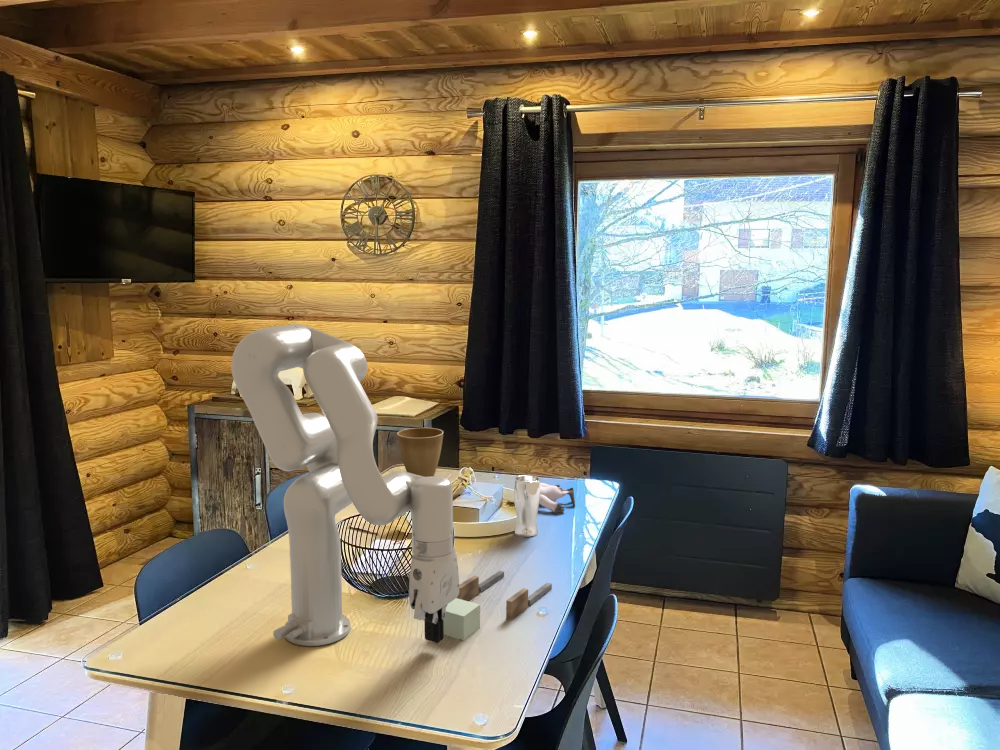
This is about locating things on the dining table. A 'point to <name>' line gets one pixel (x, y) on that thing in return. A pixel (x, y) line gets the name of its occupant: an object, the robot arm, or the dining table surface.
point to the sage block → (461, 619)
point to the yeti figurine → (554, 497)
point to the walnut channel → (513, 604)
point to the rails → (500, 575)
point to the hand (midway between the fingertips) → (434, 639)
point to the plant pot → (420, 450)
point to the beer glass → (526, 504)
